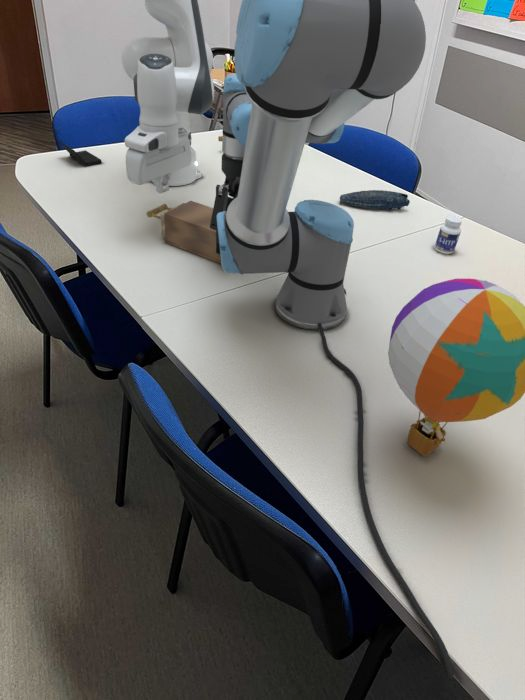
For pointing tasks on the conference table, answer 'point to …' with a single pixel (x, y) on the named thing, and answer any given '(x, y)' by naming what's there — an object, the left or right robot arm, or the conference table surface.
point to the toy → (458, 355)
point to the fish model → (376, 199)
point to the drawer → (162, 217)
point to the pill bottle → (448, 235)
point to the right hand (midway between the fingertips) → (234, 245)
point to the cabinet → (192, 230)
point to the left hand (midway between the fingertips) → (162, 191)
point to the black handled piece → (82, 156)
